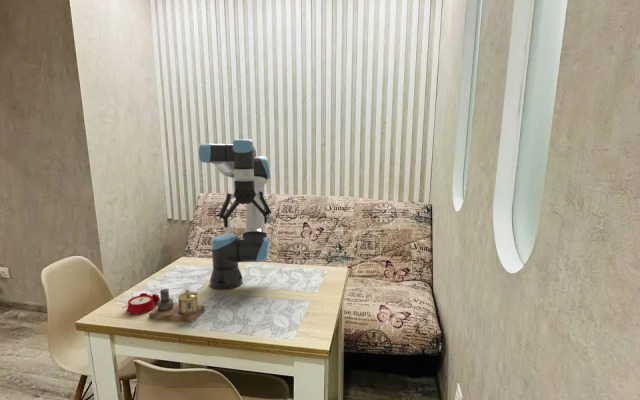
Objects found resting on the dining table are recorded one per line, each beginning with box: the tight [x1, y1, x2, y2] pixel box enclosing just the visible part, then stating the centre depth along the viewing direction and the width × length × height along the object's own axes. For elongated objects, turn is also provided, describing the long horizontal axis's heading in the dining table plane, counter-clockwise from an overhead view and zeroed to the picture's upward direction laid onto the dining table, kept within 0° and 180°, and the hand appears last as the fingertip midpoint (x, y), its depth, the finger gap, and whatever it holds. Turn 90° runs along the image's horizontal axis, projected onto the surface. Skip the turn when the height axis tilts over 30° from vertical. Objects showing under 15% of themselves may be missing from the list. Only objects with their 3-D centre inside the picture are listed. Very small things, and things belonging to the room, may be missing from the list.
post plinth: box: [148, 288, 206, 323], centre depth 146 cm, size 18×10×10 cm, turn 79°
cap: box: [178, 289, 199, 314], centre depth 144 cm, size 7×7×7 cm
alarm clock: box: [122, 292, 161, 316], centre depth 152 cm, size 10×6×15 cm
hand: (246, 233), depth 146 cm, fingers open, 13 cm apart
